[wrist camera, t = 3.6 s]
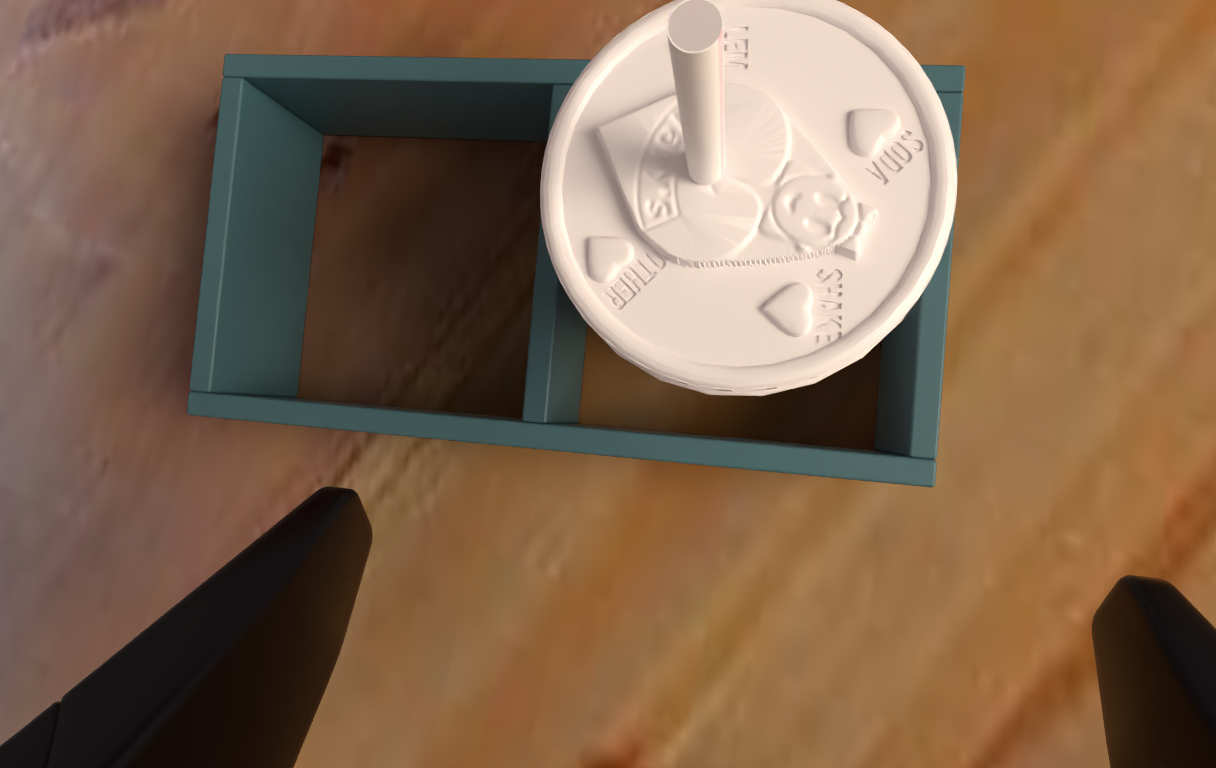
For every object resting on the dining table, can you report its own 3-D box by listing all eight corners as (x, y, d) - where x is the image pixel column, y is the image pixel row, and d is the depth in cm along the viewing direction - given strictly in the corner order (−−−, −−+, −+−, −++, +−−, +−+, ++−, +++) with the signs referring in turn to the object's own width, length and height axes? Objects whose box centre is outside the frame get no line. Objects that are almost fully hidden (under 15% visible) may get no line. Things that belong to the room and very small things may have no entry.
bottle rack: (895, 474, 20) (936, 488, 16) (277, 416, 23) (185, 414, 19) (920, 132, 21) (966, 64, 17) (308, 115, 23) (224, 52, 19)
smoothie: (674, 143, 22) (583, -351, 8) (893, 226, 21) (1234, -172, 7) (583, 351, 22) (332, 229, 8) (796, 445, 21) (938, 492, 7)
